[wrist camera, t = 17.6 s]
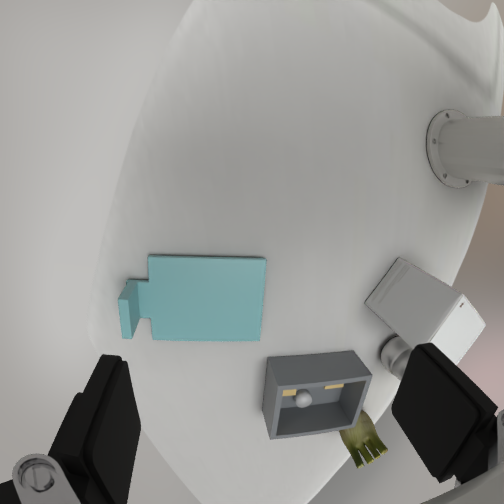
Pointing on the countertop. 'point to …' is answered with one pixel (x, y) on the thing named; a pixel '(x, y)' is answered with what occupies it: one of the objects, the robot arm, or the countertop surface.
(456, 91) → the countertop surface
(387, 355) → the plastic bottle
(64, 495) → the robot arm
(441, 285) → the supplement box
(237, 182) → the countertop surface
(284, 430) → the tub
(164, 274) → the lid
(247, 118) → the countertop surface
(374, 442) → the fennel bulb
